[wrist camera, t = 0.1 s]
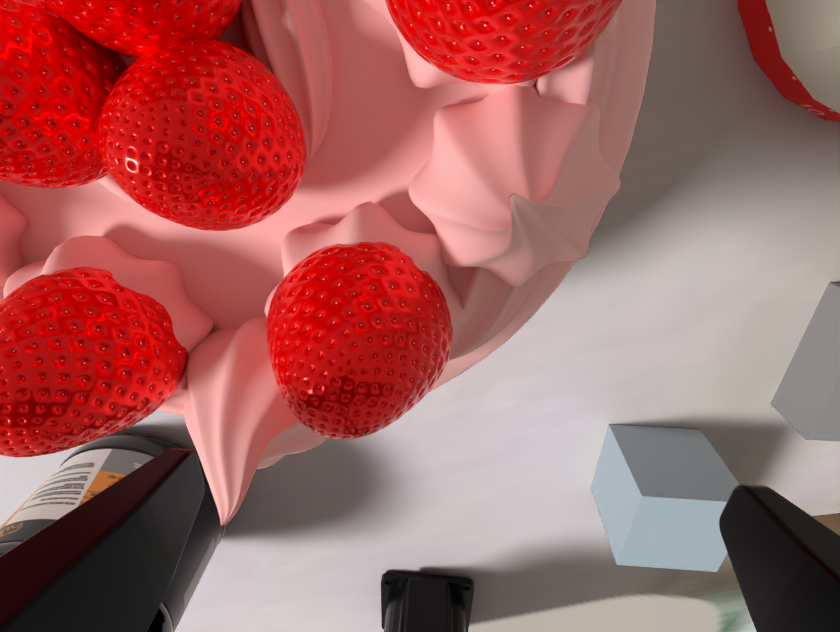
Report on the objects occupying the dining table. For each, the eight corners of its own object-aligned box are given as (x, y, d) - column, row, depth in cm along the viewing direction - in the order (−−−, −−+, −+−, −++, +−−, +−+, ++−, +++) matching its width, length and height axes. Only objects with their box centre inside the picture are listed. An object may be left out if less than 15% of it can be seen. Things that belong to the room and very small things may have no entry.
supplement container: (88, 398, 26) (-153, 613, 16) (258, 468, 28) (145, 702, 18) (62, 505, 31) (-139, 727, 20) (211, 559, 33) (98, 789, 22)
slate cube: (673, 492, 27) (716, 571, 23) (589, 486, 28) (616, 564, 23) (699, 428, 25) (753, 503, 21) (608, 423, 25) (641, 496, 21)
